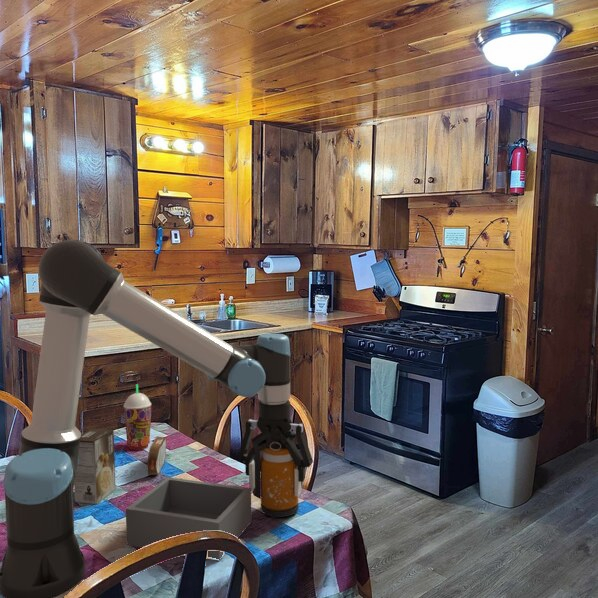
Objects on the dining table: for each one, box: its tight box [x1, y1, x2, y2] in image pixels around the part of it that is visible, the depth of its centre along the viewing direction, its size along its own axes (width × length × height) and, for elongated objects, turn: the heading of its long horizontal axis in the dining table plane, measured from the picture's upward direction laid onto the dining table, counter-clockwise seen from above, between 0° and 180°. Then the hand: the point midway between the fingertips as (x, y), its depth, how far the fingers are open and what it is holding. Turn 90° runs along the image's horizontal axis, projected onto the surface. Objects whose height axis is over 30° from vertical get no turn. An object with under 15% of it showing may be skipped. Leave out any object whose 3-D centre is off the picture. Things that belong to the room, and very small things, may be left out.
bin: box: [125, 477, 252, 561], centre depth 129 cm, size 17×21×8 cm
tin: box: [146, 436, 168, 476], centre depth 165 cm, size 15×3×8 cm, turn 2°
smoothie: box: [123, 383, 152, 451], centre depth 182 cm, size 8×8×20 cm
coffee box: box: [73, 428, 117, 505], centre depth 147 cm, size 9×6×16 cm
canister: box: [250, 430, 300, 518], centre depth 139 cm, size 9×11×20 cm
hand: (275, 491), depth 139 cm, fingers closed on canister, 11 cm apart
